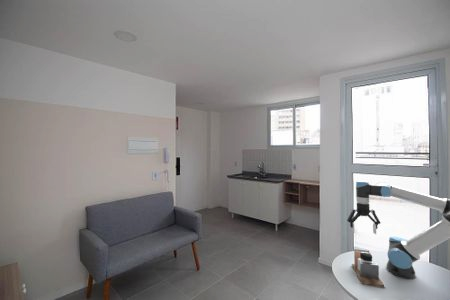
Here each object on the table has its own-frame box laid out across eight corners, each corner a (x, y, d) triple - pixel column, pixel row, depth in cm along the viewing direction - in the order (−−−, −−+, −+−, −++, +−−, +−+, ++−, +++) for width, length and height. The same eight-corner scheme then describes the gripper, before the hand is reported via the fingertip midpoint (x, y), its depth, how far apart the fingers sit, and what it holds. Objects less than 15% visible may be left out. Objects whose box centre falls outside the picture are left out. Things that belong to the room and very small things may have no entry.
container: (375, 277, 131) (375, 257, 132) (362, 275, 133) (362, 255, 133) (370, 270, 139) (369, 251, 139) (357, 268, 141) (357, 250, 141)
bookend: (377, 277, 130) (377, 263, 131) (378, 279, 129) (378, 265, 129) (359, 275, 133) (359, 261, 134) (360, 276, 132) (360, 263, 132)
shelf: (371, 268, 143) (371, 266, 143) (384, 287, 123) (384, 285, 123) (351, 265, 147) (351, 263, 147) (361, 284, 127) (361, 281, 127)
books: (369, 266, 143) (369, 250, 143) (370, 268, 141) (370, 251, 141) (354, 264, 146) (353, 248, 146) (355, 266, 143) (354, 249, 144)
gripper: (380, 202, 144) (381, 231, 143) (341, 200, 149) (342, 229, 149) (385, 204, 137) (387, 236, 136) (345, 203, 142) (346, 233, 142)
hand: (363, 232), depth 142 cm, fingers open, 13 cm apart
